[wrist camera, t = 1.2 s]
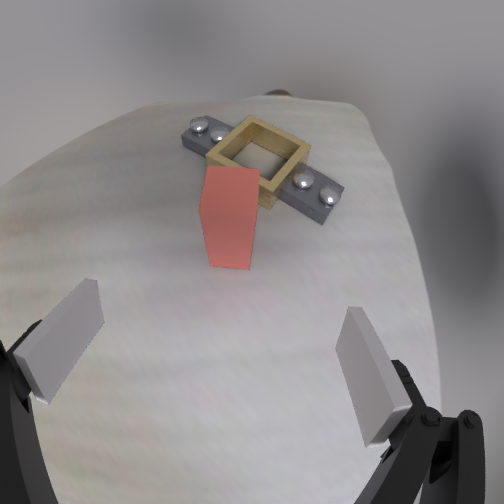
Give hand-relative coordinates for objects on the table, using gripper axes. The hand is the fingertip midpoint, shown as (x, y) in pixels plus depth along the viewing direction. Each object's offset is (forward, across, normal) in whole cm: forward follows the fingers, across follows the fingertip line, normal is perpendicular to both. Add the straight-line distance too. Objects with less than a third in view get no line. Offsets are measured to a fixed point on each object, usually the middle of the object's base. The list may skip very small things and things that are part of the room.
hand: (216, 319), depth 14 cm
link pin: (+16, 0, -3) cm, 17 cm away
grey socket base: (+25, +2, +6) cm, 25 cm away
